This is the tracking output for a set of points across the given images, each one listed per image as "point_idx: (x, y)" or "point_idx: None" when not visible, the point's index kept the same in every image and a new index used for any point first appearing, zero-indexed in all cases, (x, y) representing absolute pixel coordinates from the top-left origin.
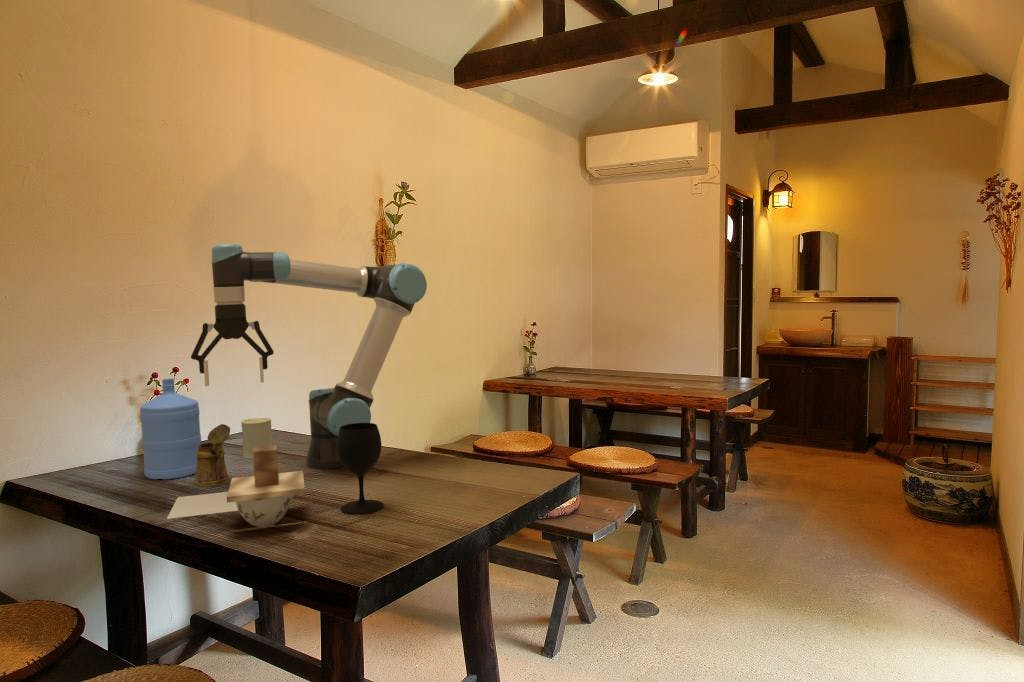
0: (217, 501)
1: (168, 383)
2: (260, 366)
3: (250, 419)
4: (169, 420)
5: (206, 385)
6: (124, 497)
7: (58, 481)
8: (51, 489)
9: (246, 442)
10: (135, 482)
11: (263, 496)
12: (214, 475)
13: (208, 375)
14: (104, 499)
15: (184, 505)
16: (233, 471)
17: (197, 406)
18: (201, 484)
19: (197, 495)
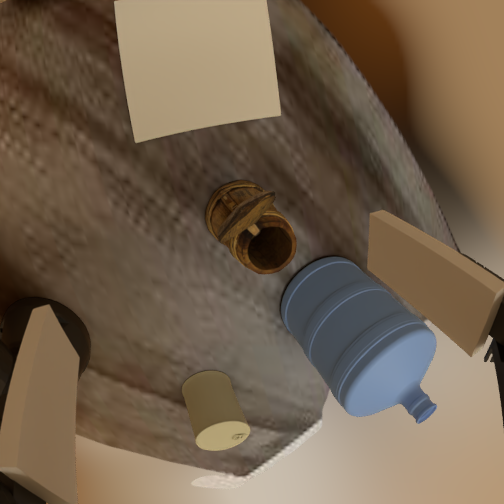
0: (191, 62)
1: (424, 404)
2: (20, 397)
3: (234, 437)
4: (383, 321)
5: (380, 213)
6: (366, 160)
7: None
8: (441, 230)
9: (227, 393)
10: (365, 247)
11: None
12: (233, 195)
13: (404, 290)
14: (388, 158)
15: (253, 53)
16: (220, 299)
17: (342, 391)
18: (254, 184)
19: (245, 117)
